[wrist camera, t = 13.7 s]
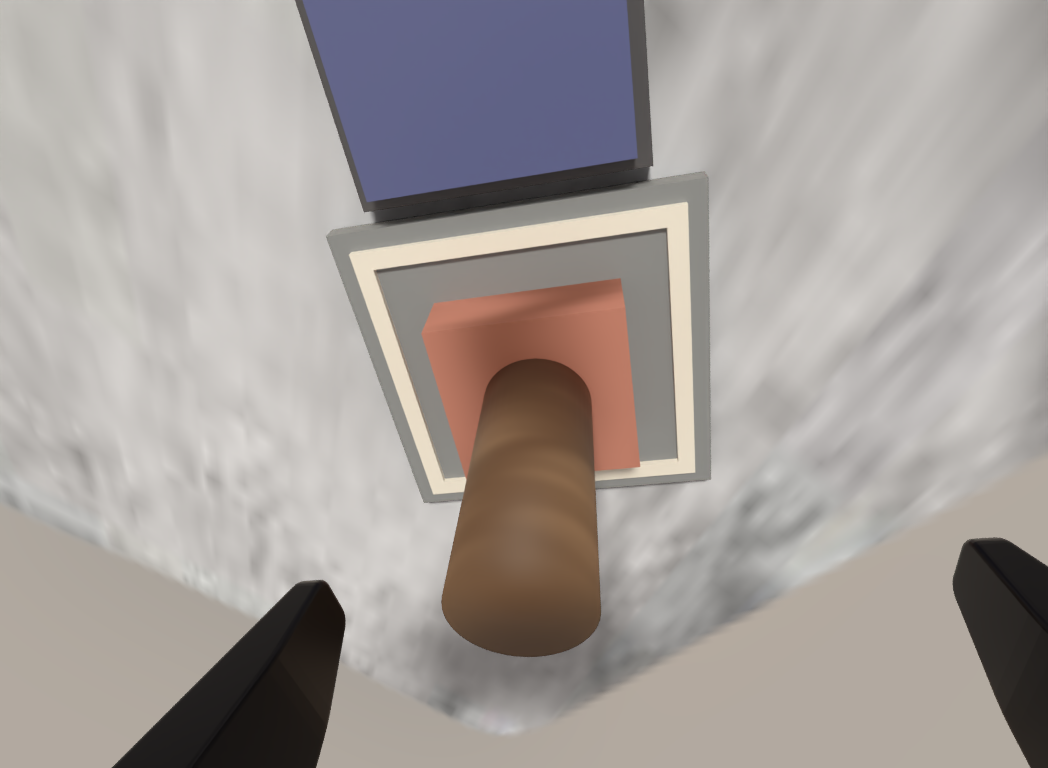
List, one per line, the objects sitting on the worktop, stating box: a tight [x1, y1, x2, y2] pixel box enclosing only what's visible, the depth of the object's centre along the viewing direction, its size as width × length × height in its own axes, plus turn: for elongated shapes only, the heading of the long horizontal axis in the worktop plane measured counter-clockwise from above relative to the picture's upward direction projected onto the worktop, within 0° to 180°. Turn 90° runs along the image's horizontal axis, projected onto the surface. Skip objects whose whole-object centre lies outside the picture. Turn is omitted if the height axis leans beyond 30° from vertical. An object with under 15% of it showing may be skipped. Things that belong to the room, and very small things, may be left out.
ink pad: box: [295, 0, 653, 212], centre depth 15 cm, size 8×8×2 cm
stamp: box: [421, 278, 640, 657], centre depth 17 cm, size 6×6×10 cm
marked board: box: [326, 171, 711, 503], centre depth 21 cm, size 11×11×1 cm
